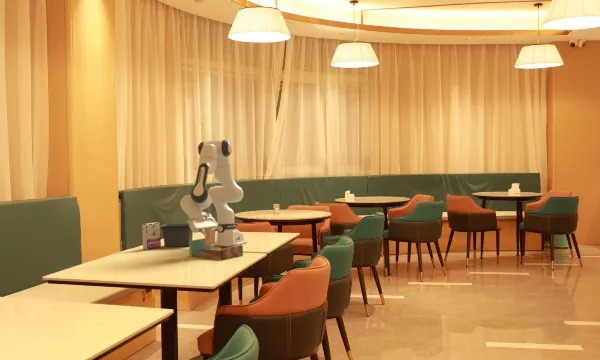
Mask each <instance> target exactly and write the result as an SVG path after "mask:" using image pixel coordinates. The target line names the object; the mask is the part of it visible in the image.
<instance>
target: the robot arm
mask: <svg viewBox="0 0 600 360" xmlns="http://www.w3.org/2000/svg"><path fill="white" fill-rule="evenodd" d="M232 146H233V145H232V142H230V140H228V139H214V140H208V141H207V140H206V141H205V140H204V141H201V142H200V143H198V146H197V152H198V155H199V158H198V168H197V173H196V179H195V181H194V183H195V184H194V186H193V187H192V189H191V191H190V194H186V195H184V196H183V197H181V199H180V202H179V204H180V207H181V209H182V211H183V213H184V214H185V215H187V217H188V219H187V220H186V222H187V224H189V227H190V229H191V230H192V232H193V233H201V235H203V236H204V238H205V237H207V236H208V235H209V234H208V233H206V232H205V229H215V231H216V230H217V231H216V235H215V244H214V245H215V246H220V247H221V245H224V246H239V245H240V244H241V245H244V244H247V243H248V241H247V240H245V239H244V235H243V233H242V232H241V231H240V230H239V229H237V227H239V225H240V224H239V223H237V222H236V223H235V211H234V210H233V209H232V208H231V207H230V206H229V204H228V203H231V204H233V203H239V202H241V201H242V200H243V198H244V191H243V188H242V187H241V186H239V185H238V184H237V182H236V181H235V180H234V177H233V174H232V168H231V162H230V157H229V156H230V155H231V154H232V152H233V147H232ZM212 174H213V175H214V178H215V179H216V180H217V181H218V182H219V183H220V184H221V185H215V186H214V185H213V186H211V187H209V188H208V189H207V182H208V178H209V175H212ZM212 204H213V205H214V208H215V209H216V210H215V211H216V216H217V221H216V219H215V218H214V217H213V216H212V214H211V213H210V212H206V211H204V210H206V209H207V208H210V207H211V205H212Z"/></svg>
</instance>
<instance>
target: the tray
mask: <svg viewBox="0 0 600 360" xmlns="http://www.w3.org/2000/svg"><path fill="white" fill-rule="evenodd" d="M188 247H189V257H198V258H199V257H200V258H202V257H201V249H210V250H212V245H205V237H203V238H199V239H198V238H197V239H192V241H189V246H188Z"/></svg>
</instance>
